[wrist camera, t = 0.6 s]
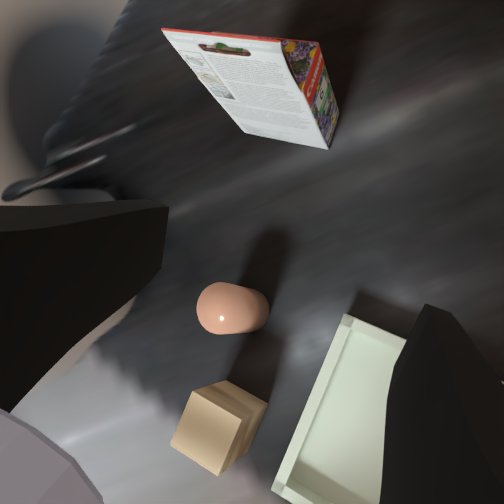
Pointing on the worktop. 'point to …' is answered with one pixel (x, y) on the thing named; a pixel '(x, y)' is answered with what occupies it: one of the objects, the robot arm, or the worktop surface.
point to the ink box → (264, 83)
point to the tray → (343, 421)
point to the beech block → (218, 425)
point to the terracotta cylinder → (232, 309)
